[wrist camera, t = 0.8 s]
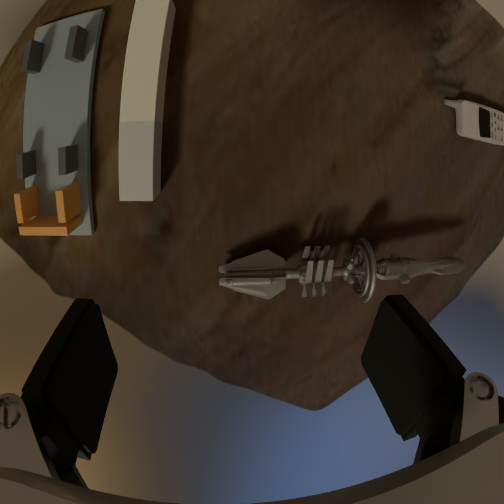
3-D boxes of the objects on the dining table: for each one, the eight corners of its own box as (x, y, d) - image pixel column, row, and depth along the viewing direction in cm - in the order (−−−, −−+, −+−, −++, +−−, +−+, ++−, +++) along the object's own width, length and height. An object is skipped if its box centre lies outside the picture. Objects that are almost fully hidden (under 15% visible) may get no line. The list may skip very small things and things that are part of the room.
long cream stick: (145, 11, 21) (136, -1, 17) (175, 9, 21) (170, -5, 18) (130, 192, 30) (119, 200, 26) (160, 192, 30) (152, 201, 27)
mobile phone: (542, 157, 26) (472, 139, 25) (520, 150, 32) (443, 135, 30) (542, 125, 24) (470, 94, 22) (520, 120, 29) (441, 94, 28)
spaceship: (463, 300, 33) (489, 266, 27) (221, 322, 33) (211, 282, 27) (444, 260, 38) (464, 224, 32) (224, 271, 39) (217, 227, 33)
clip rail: (40, 30, 18) (19, 22, 14) (105, 11, 20) (89, -3, 15) (35, 231, 30) (16, 246, 25) (94, 232, 31) (78, 248, 27)
